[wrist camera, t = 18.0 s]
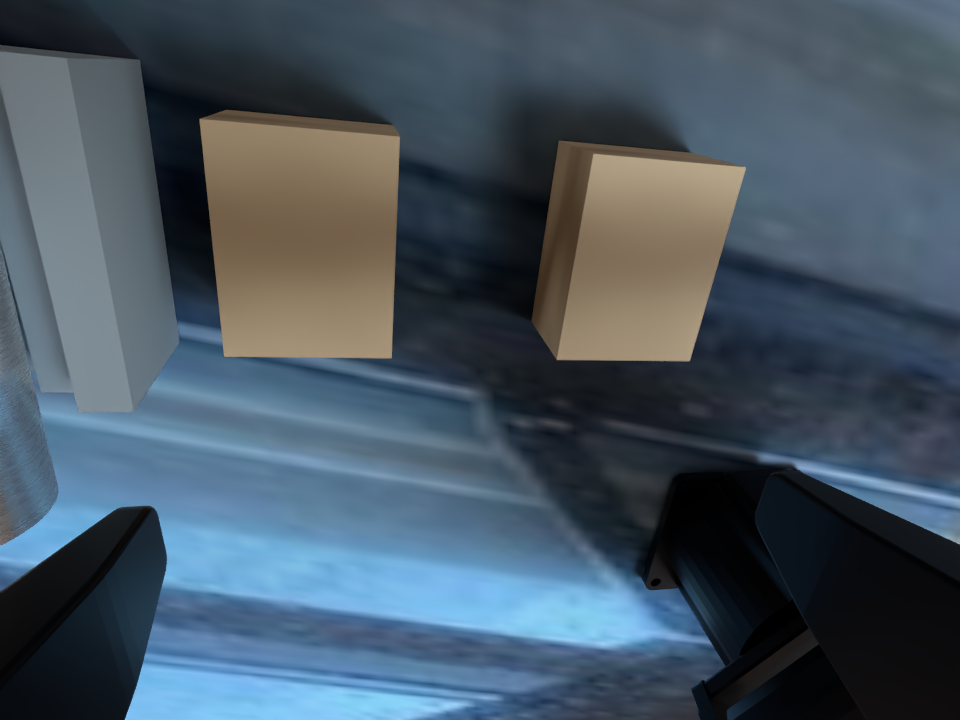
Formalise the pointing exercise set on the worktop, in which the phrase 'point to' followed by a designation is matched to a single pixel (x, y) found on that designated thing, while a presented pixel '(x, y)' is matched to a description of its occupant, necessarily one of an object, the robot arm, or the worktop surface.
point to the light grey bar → (20, 431)
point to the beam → (372, 241)
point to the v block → (84, 226)
